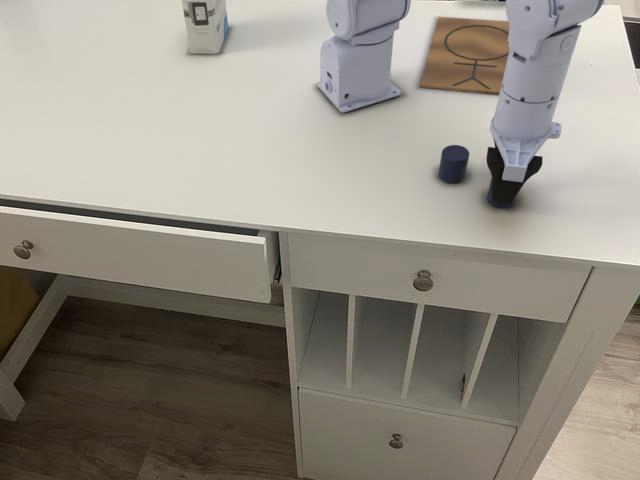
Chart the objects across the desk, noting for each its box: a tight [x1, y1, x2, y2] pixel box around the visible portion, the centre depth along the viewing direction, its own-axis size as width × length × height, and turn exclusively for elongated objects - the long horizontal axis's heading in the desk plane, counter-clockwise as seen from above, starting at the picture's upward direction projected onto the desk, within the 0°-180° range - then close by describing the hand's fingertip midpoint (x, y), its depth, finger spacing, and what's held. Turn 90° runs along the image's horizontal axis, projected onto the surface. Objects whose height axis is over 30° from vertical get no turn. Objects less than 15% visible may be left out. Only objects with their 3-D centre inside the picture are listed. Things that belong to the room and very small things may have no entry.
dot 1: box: [437, 144, 470, 184], centre depth 81 cm, size 3×3×3 cm
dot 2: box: [486, 177, 517, 210], centre depth 77 cm, size 3×3×3 cm
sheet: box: [419, 16, 510, 95], centre depth 99 cm, size 20×14×1 cm
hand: (503, 190), depth 78 cm, fingers closed on dot 2, 3 cm apart
